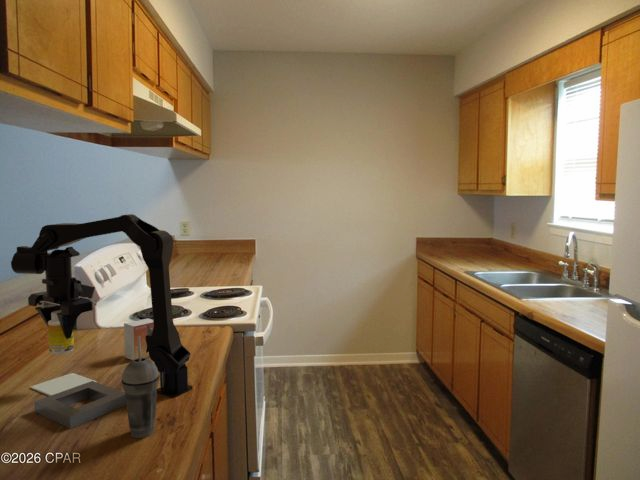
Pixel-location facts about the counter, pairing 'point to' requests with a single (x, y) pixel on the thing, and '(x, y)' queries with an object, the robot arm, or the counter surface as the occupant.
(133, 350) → the small box
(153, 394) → the beverage cup
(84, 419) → the frame
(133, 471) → the counter surface
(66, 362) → the counter surface
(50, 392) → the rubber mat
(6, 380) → the counter surface
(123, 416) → the counter surface
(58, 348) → the supplement bottle
